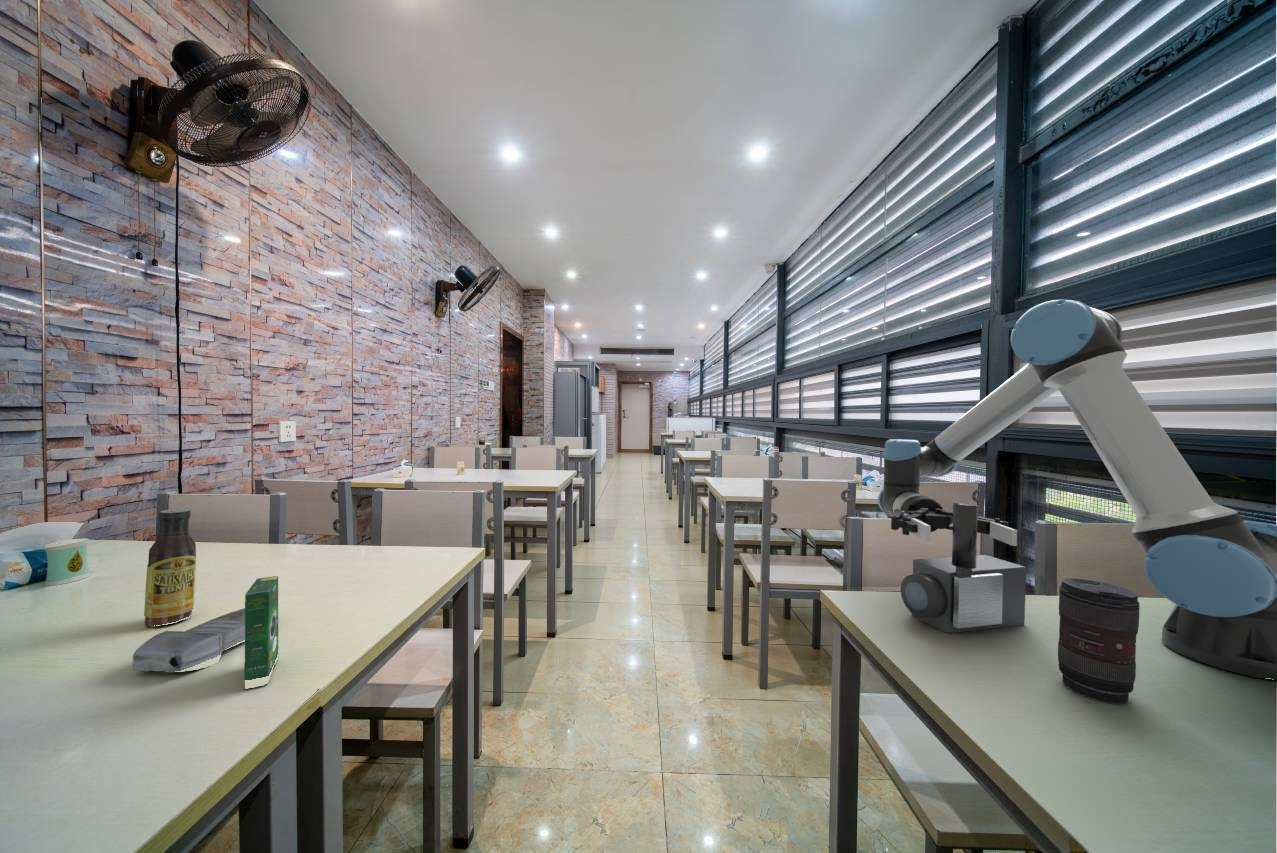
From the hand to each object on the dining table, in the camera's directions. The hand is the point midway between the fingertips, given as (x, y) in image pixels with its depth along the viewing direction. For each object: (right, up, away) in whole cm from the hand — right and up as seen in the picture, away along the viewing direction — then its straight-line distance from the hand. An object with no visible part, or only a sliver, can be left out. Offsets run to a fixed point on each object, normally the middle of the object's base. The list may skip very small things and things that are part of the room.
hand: (970, 535), depth 80 cm
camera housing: (+4, -18, +9) cm, 21 cm away
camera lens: (+7, -19, -14) cm, 25 cm away
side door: (+3, -17, +3) cm, 18 cm away
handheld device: (-126, -17, -6) cm, 127 cm away
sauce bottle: (-142, -16, +2) cm, 143 cm away
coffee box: (-112, -17, -14) cm, 114 cm away
